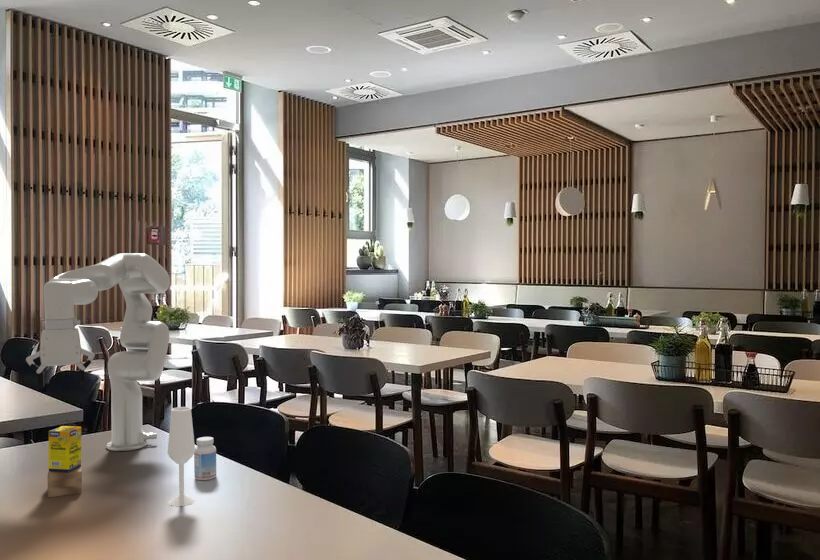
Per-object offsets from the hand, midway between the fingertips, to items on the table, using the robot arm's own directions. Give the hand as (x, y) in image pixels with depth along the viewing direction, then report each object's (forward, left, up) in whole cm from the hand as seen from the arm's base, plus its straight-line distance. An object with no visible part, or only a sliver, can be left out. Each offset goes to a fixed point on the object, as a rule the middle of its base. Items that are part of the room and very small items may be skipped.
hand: (61, 385), depth 194 cm
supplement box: (-1, +11, -21) cm, 24 cm away
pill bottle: (-37, +14, -27) cm, 48 cm away
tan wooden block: (-1, +11, -27) cm, 29 cm away
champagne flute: (-29, +32, -27) cm, 51 cm away
